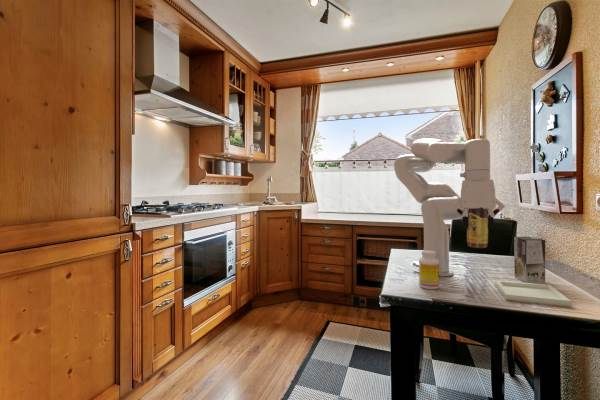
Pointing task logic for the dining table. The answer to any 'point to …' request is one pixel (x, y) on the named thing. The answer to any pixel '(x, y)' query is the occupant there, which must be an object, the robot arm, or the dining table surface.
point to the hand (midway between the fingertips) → (477, 227)
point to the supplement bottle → (429, 270)
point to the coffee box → (529, 259)
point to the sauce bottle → (477, 228)
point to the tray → (531, 293)
